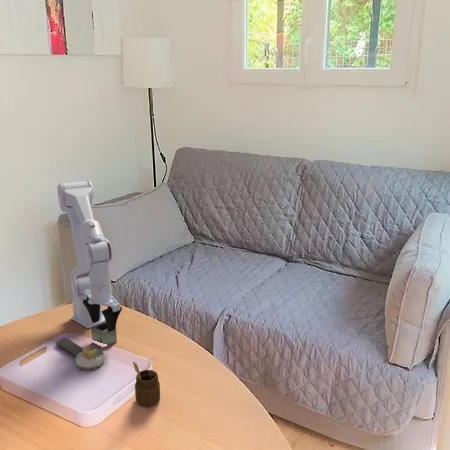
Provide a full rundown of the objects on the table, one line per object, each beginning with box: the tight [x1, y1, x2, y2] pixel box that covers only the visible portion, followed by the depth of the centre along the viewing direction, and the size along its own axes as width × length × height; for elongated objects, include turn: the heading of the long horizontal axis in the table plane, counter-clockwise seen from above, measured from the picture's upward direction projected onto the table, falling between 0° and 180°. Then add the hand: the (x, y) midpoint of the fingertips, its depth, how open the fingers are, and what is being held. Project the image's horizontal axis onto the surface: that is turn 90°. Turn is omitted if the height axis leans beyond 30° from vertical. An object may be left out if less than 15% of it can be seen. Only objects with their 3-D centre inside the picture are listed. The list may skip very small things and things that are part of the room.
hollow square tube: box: [90, 321, 118, 346], centre depth 148 cm, size 5×5×5 cm
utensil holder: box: [132, 356, 161, 408], centre depth 122 cm, size 6×6×12 cm
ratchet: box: [55, 337, 105, 372], centre depth 141 cm, size 18×8×4 cm, turn 48°
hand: (103, 325), depth 147 cm, fingers open, 7 cm apart
